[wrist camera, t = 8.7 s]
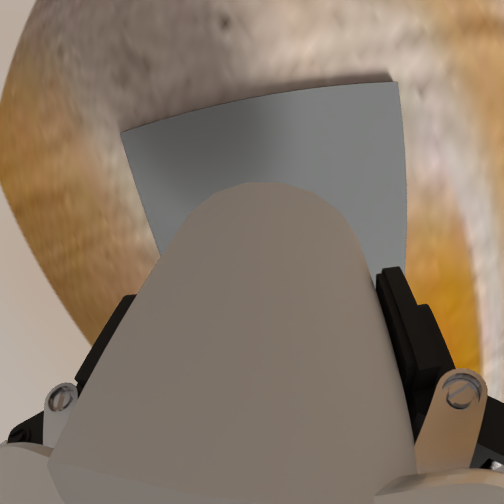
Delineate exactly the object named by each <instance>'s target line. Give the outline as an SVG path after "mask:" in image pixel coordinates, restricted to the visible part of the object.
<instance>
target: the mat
mask: <svg viewBox="0 0 504 504" xmlns="http://www.w3.org/2000/svg"><path fill="white" fill-rule="evenodd" d="M120 135H121V138H122V142H123V145H124V148H125V152H126V155H127V158H128V162H129V165H130V168H131V171H132V174H133V177H134V181H135V184H136V187H137V190H138V193H139V196H140V199H141V202H142V205H143V208H144V210H145V213H146V216H147V219H148V222H149V225H150V227H151V230H152V233H153V236H154V238H155V241H156V244H157V247H158V249H159V252H160V255H161V256H162V254H163V253H164V251H165V250H166V248H167V247H168V245H169V244H170V242H171V241H172V239H173V237H174V236H175V234H176V233H177V231H178V230H179V228H180V227H181V226H182V224H183V223H184V221H185V220H186V218H187V217H188V215H189V214H190V212H191V211H192V210H194V209H195V208H196V207H197V206H199V205H200V204H201V203H203V202H204V201H205V200H206V199H208V198H209V197H210V196H212V195H213V194H214V193H216V192H219V191H222V190H225V189H228V188H231V187H234V186H237V185H240V184H243V183H247V182H282V183H285V184H288V185H291V186H294V187H298V188H301V189H304V190H307V191H310V192H313V193H315V194H317V195H318V196H319V197H321V198H322V199H324V200H325V201H326V202H328V203H329V204H330V205H332V206H333V207H334V208H336V209H337V210H338V211H340V212H341V213H342V215H343V216H344V218H345V219H346V221H347V222H348V224H349V225H350V227H351V228H352V230H353V231H354V233H355V234H356V236H357V237H358V240H359V243H360V245H361V248H362V251H363V254H364V257H365V260H366V262H367V265H368V268H369V271H370V274H371V277H372V280H373V283H374V286H375V289H376V274H379V273H381V271H382V268H389V267H396V266H399V267H400V268H401V270H402V272H403V274H404V276H405V259H406V233H407V188H406V162H405V146H404V133H403V122H402V113H401V104H400V96H399V88H398V82H376V83H360V84H347V85H337V86H327V87H318V88H310V89H303V90H295V91H289V92H282V93H276V94H270V95H264V96H259V97H254V98H248V99H243V100H239V101H234V102H229V103H225V104H220V105H216V106H212V107H207V108H203V109H199V110H195V111H192V112H188V113H184V114H180V115H177V116H173V117H170V118H166V119H163V120H159V121H156V122H153V123H149V124H146V125H143V126H140V127H137V128H134V129H131V130H128V131H125V132H122V133H120Z"/></svg>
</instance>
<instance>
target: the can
mask: <svg viewBox="0 0 504 504" xmlns="http://www.w3.org/2000/svg"><path fill="white" fill-rule="evenodd" d="M414 446H415V443H414V437H413V432H412V427H411V422H410V417H409V412H408V407H407V403H406V398H405V394H404V390H403V385H402V381H401V377H400V373H399V369H398V365H397V361H396V357H395V354H394V350H393V346H392V343H391V339H390V335H389V332H388V328H387V325H386V322H385V318H384V315H383V312H382V308H381V305H380V302H379V299H378V295H377V292H376V289H375V286H374V283H373V280H372V277H371V274H370V271H369V268H368V265H367V262H366V260H365V257H364V254H363V251H362V248H361V245H360V243H359V240H358V237H357V236H356V234H355V233H354V231H353V230H352V228H351V227H350V225H349V224H348V222H347V221H346V219H345V218H344V216H343V215H342V213H341V212H340V211H338V210H337V209H336V208H334V207H333V206H332V205H330V204H329V203H328V202H326V201H325V200H324V199H322V198H321V197H319V196H318V195H317V194H315V193H313V192H310V191H307V190H304V189H301V188H298V187H294V186H291V185H288V184H285V183H282V182H247V183H243V184H240V185H237V186H234V187H231V188H228V189H225V190H222V191H219V192H216V193H214V194H213V195H212V196H210V197H209V198H208V199H206V200H205V201H204V202H203V203H201V204H200V205H199V206H197V207H196V208H195V209H194V210H192V211H191V212H190V214H189V215H188V217H187V218H186V220H185V221H184V223H183V224H182V226H181V227H180V228H179V230H178V231H177V233H176V234H175V236H174V237H173V239H172V241H171V242H170V244H169V245H168V247H167V248H166V250H165V251H164V253H163V254H162V256H161V257H160V259H159V260H158V262H157V264H156V265H155V267H154V268H153V270H152V271H151V273H150V275H149V276H148V278H147V279H146V281H145V283H144V284H143V286H142V287H141V289H140V291H139V292H138V294H137V296H136V297H135V299H134V301H133V302H132V304H131V305H130V307H129V309H128V310H127V312H126V314H125V316H124V317H123V319H122V321H121V322H120V324H119V326H118V327H117V329H116V331H115V333H114V334H113V336H112V338H111V340H110V341H109V343H108V345H107V347H106V348H105V350H104V352H103V354H102V355H101V357H100V359H99V361H98V363H97V365H96V366H95V368H94V370H93V372H92V374H91V376H90V377H89V379H88V381H87V383H86V385H85V387H84V389H83V391H82V393H81V394H80V396H79V398H78V400H77V402H76V404H75V406H74V408H73V410H72V412H71V414H70V416H69V418H68V420H67V422H66V424H65V426H64V428H63V430H62V432H61V434H60V437H59V439H58V441H57V443H56V445H55V447H54V449H53V452H52V454H51V456H50V458H49V460H48V463H47V467H48V470H49V472H50V475H51V477H52V480H53V482H54V484H55V487H56V489H57V491H58V493H59V496H60V497H61V498H62V500H63V501H64V502H65V504H374V496H375V495H376V494H377V493H378V492H379V491H380V490H381V489H382V488H383V487H384V486H385V485H387V484H388V483H389V482H391V481H392V480H394V479H395V478H396V477H401V476H408V475H414V474H418V471H417V464H416V458H415V452H414Z"/></svg>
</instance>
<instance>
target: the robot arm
mask: <svg viewBox="0 0 504 504" xmlns="http://www.w3.org/2000/svg"><path fill="white" fill-rule="evenodd" d="M376 292H377V295H378V299H379V302H380V305H381V308H382V312H383V315H384V318H385V322H386V325H387V328H388V332H389V335H390V339H391V343H392V346H393V350H394V354H395V357H396V361H397V365H398V369H399V373H400V377H401V381H402V385H403V390H404V394H405V398H406V403H407V407H408V412H409V417H410V422H411V427H412V432H413V437H414V443H415V446H414V452H415V458H416V464H417V471H418V474H414V475H408V476H401V477H396V478H395V479H394V480H392V481H391V482H389V483H388V484H387V485H385V486H384V487H383V488H382V489H381V490H380V491H379V492H378V493H377V494H376V495H375V496H374V504H504V403H502V402H500V401H498V400H496V399H494V398H492V397H490V396H488V395H487V391H488V389H487V386H486V383H485V381H484V379H483V378H482V377H481V376H480V375H479V374H478V373H476V372H475V371H472V370H469V369H463V368H459V369H456V368H455V366H454V363H453V360H452V358H451V355H450V353H449V350H448V348H447V345H446V343H445V341H444V338H443V336H442V334H441V331H440V329H439V327H438V324H437V322H436V320H435V318H434V315H433V313H432V311H431V309H430V307H429V305H427V304H422V305H417V303H416V301H415V298H414V296H413V294H412V292H411V289H410V287H409V285H408V283H407V281H406V278H405V276H404V274H403V272H402V270H401V268H400V267H399V266H396V267H389V268H382V271H381V273H379V274H376ZM136 296H137V294H136V295H126V296H124V297H123V298H122V300H121V302H120V303H119V305H118V306H117V308H116V309H115V311H114V313H113V314H112V316H111V317H110V319H109V321H108V322H107V324H106V325H105V327H104V329H103V330H102V332H101V334H100V335H99V337H98V338H97V340H96V342H95V343H94V345H93V347H92V349H91V350H90V352H89V354H88V355H87V357H86V359H85V361H84V362H83V364H82V366H81V368H80V369H79V371H78V373H77V374H76V376H75V380H76V381H77V382H78V384H77V386H75V385H73V384H72V383H62V384H59V385H57V386H56V387H54V388H53V389H52V390H51V391H50V392H49V394H48V395H47V397H46V400H45V404H44V405H45V406H44V411H42V412H40V413H39V414H37V415H35V416H33V417H31V418H30V419H28V420H26V421H24V422H22V423H21V424H19V425H17V426H16V427H15V428H13V430H12V431H11V432H10V435H9V437H8V441H6V440H5V441H4V442H3V443H1V444H0V504H65V502H64V501H63V500H62V498H61V497H60V496H59V493H58V491H57V489H56V487H55V484H54V482H53V480H52V477H51V475H50V472H49V470H48V467H47V463H48V460H49V458H50V456H51V454H52V452H53V449H54V447H55V445H56V443H57V441H58V439H59V437H60V434H61V432H62V430H63V428H64V426H65V424H66V422H67V420H68V418H69V416H70V414H71V412H72V410H73V408H74V406H75V404H76V402H77V400H78V398H79V396H80V394H81V393H82V391H83V389H84V387H85V385H86V383H87V381H88V379H89V377H90V376H91V374H92V372H93V370H94V368H95V366H96V365H97V363H98V361H99V359H100V357H101V355H102V354H103V352H104V350H105V348H106V347H107V345H108V343H109V341H110V340H111V338H112V336H113V334H114V333H115V331H116V329H117V327H118V326H119V324H120V322H121V321H122V319H123V317H124V316H125V314H126V312H127V310H128V309H129V307H130V305H131V304H132V302H133V301H134V299H135V297H136Z"/></svg>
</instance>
